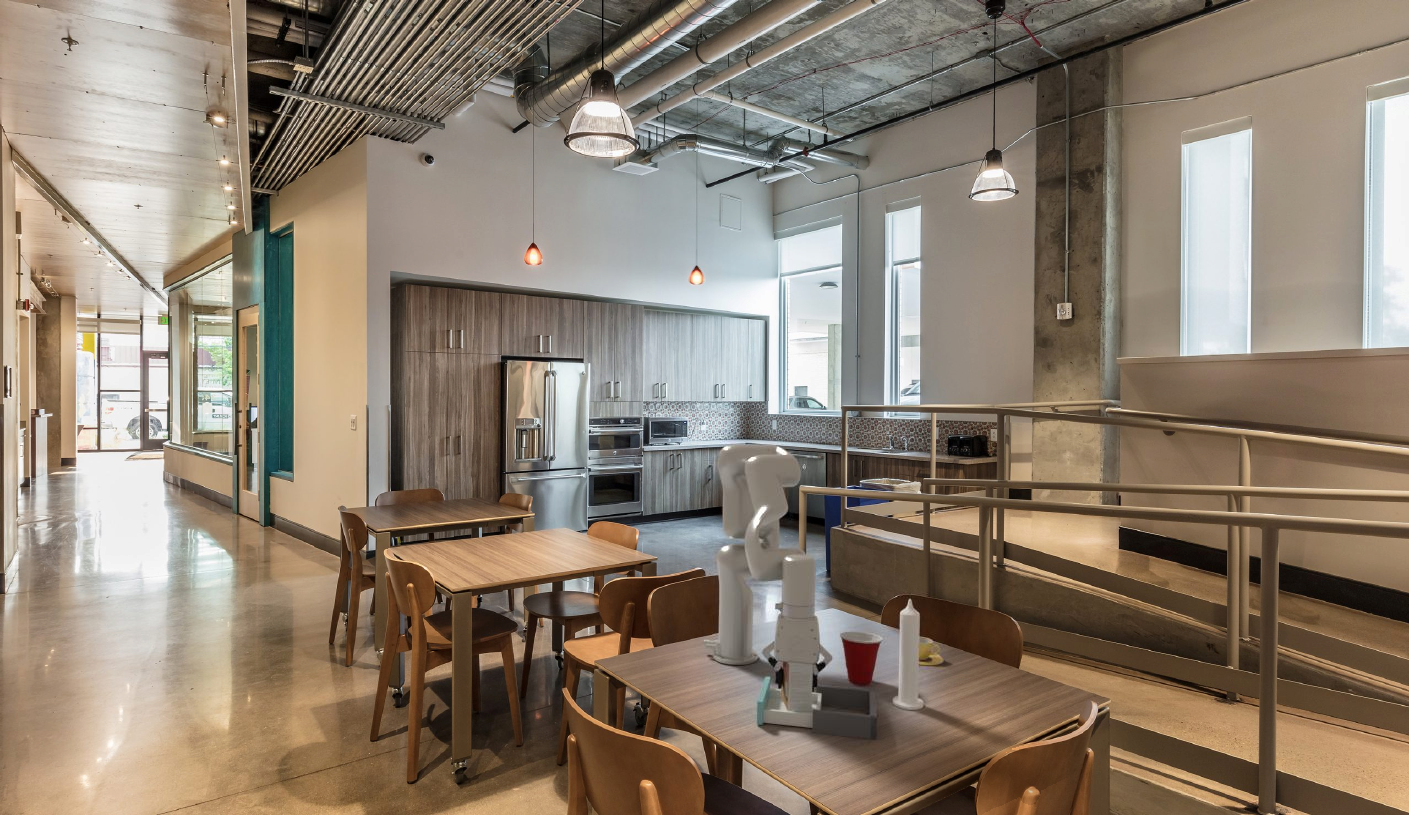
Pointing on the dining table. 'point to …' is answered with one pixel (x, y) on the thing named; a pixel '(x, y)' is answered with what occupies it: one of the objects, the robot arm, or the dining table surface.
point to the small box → (797, 686)
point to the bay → (846, 721)
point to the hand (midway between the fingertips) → (796, 687)
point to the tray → (783, 708)
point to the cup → (928, 652)
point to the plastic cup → (860, 655)
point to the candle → (909, 660)
